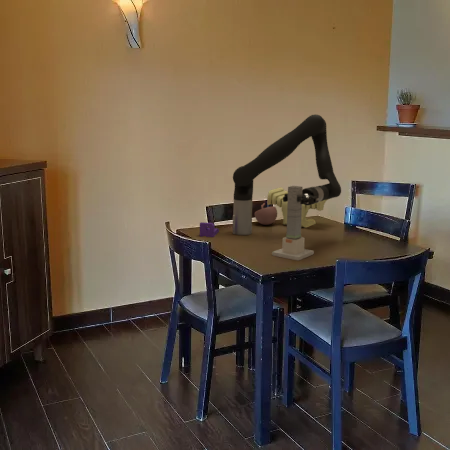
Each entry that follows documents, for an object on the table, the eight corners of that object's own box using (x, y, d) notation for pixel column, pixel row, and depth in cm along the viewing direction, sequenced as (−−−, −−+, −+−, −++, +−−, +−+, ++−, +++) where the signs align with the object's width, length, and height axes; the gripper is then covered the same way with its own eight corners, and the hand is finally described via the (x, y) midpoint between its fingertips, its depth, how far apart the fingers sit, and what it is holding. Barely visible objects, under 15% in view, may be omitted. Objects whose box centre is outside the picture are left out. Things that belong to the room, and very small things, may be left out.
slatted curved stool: (266, 223, 309) (267, 190, 305) (280, 218, 322) (281, 187, 318) (319, 230, 293) (320, 196, 289) (330, 225, 307) (332, 192, 303)
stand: (298, 260, 240) (298, 243, 238) (272, 255, 247) (272, 238, 246) (313, 254, 250) (314, 237, 248) (288, 249, 257) (288, 232, 256)
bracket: (213, 237, 279) (213, 223, 278) (199, 236, 280) (199, 223, 279) (218, 232, 291) (219, 218, 289) (205, 231, 292) (205, 218, 290)
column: (295, 239, 244) (297, 188, 239) (286, 237, 247) (287, 186, 242) (301, 237, 247) (302, 186, 243) (291, 235, 250) (293, 185, 245)
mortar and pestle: (267, 221, 315) (267, 200, 313) (281, 225, 306) (282, 204, 303) (249, 224, 308) (250, 202, 306) (264, 228, 299) (264, 206, 296)
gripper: (298, 185, 258) (278, 189, 245) (326, 188, 249) (307, 193, 237) (297, 202, 259) (277, 207, 247) (325, 205, 251) (306, 211, 238)
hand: (292, 200), depth 242 cm, fingers open, 8 cm apart
